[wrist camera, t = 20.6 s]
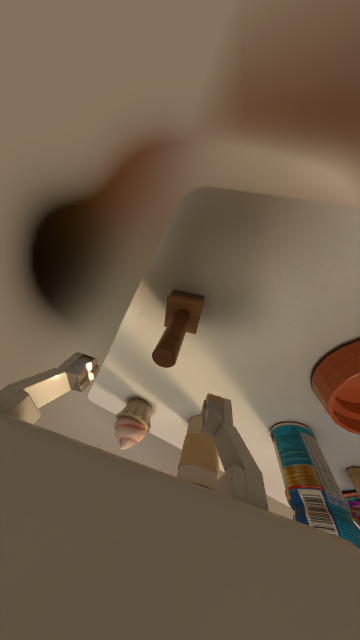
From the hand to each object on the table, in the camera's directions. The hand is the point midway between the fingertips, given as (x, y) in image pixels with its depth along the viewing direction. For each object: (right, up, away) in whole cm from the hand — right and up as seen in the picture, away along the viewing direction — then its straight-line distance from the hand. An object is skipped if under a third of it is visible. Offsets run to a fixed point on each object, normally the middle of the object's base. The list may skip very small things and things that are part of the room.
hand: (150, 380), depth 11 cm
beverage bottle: (+27, -21, +24) cm, 41 cm away
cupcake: (-9, -19, +31) cm, 38 cm away
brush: (+3, +6, +15) cm, 16 cm away
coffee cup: (+8, -23, +29) cm, 38 cm away
